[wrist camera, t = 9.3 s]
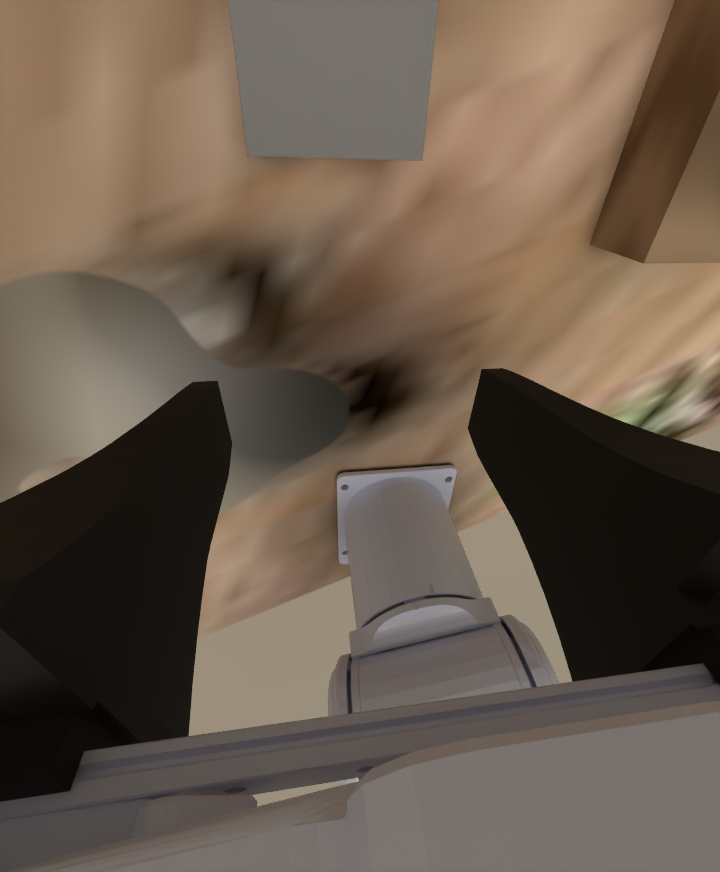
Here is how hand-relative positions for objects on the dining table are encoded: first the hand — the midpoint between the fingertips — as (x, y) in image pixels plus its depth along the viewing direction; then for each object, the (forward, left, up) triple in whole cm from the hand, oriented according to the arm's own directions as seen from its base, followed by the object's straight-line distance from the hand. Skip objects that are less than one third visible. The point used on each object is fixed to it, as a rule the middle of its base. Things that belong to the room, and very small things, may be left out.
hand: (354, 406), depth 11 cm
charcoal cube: (+8, 0, -10) cm, 12 cm away
